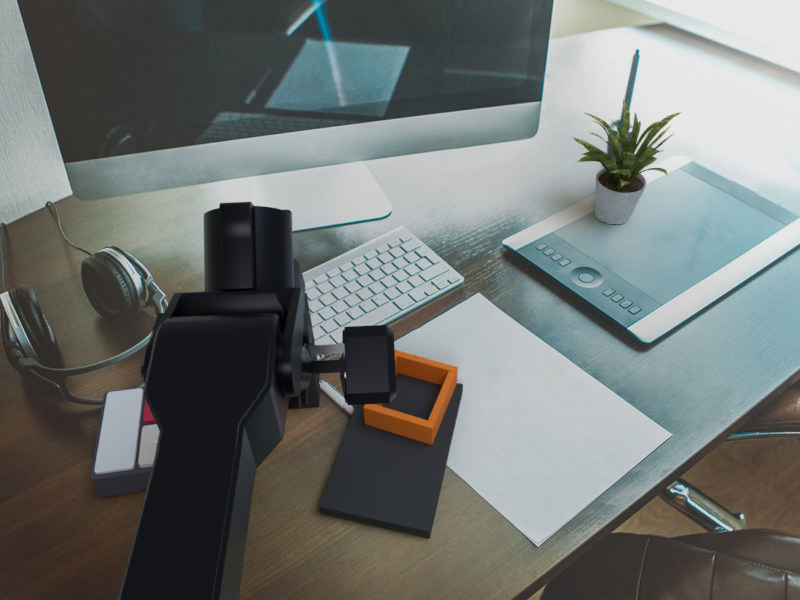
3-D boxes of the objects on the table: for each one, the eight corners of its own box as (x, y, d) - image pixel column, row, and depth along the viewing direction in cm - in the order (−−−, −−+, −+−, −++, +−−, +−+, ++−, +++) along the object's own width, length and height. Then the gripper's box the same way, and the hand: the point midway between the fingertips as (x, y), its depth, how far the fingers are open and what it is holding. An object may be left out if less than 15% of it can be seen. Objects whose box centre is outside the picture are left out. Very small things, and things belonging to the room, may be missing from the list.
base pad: (429, 539, 62) (430, 516, 59) (320, 514, 64) (315, 490, 61) (463, 387, 75) (465, 361, 72) (371, 370, 77) (369, 344, 74)
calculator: (246, 453, 65) (86, 475, 62) (251, 476, 67) (99, 498, 65) (244, 369, 72) (102, 386, 70) (249, 393, 75) (112, 410, 73)
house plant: (615, 174, 106) (638, 78, 94) (683, 216, 97) (719, 116, 86) (548, 203, 100) (565, 105, 89) (615, 250, 92) (643, 149, 80)
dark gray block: (319, 406, 73) (305, 327, 64) (283, 409, 73) (265, 330, 64) (319, 372, 77) (306, 292, 68) (285, 375, 76) (268, 295, 67)
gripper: (390, 247, 46) (389, 279, 61) (123, 259, 45) (190, 288, 61) (398, 406, 45) (395, 398, 60) (123, 420, 44) (192, 408, 60)
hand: (293, 369), depth 60 cm, fingers open, 9 cm apart
